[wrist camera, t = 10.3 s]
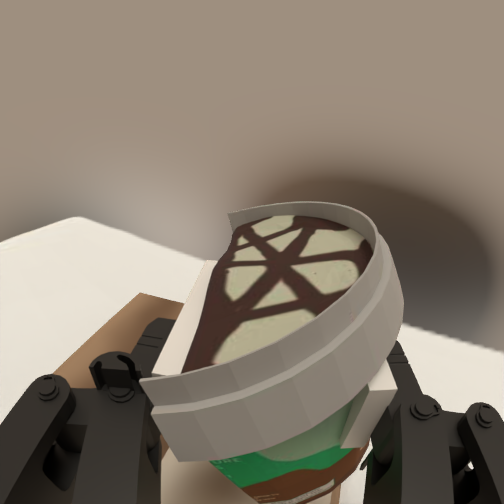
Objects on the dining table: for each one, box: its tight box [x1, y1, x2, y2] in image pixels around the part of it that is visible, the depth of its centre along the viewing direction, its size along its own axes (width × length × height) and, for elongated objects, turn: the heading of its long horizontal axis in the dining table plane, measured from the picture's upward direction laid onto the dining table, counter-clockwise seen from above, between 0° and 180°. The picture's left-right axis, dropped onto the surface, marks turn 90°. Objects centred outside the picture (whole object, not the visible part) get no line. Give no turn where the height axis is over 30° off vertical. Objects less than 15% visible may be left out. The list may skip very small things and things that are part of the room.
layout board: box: [53, 293, 341, 504], centre depth 17 cm, size 20×22×1 cm
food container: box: [139, 202, 404, 504], centre depth 11 cm, size 12×6×10 cm, turn 175°
